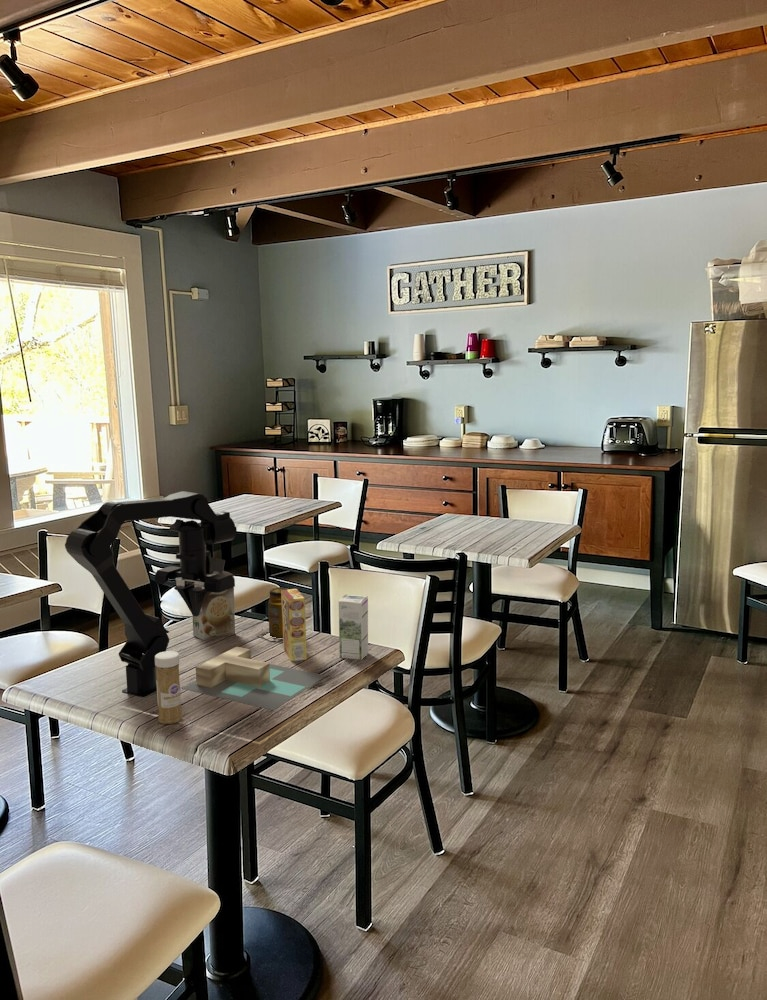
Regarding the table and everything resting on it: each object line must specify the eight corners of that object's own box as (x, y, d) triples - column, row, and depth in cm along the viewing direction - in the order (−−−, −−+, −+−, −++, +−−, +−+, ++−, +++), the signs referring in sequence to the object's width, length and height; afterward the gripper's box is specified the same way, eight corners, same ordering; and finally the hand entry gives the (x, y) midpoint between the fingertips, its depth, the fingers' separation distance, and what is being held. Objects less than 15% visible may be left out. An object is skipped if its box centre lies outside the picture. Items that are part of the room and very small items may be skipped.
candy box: (307, 660, 183) (306, 597, 180) (289, 663, 181) (288, 599, 179) (299, 648, 191) (297, 587, 188) (282, 650, 190) (280, 589, 187)
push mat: (273, 712, 155) (273, 710, 155) (181, 689, 166) (181, 688, 166) (326, 677, 173) (326, 675, 173) (240, 659, 184) (240, 657, 184)
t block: (244, 695, 162) (243, 677, 162) (196, 684, 168) (195, 666, 168) (283, 672, 174) (282, 655, 174) (237, 663, 180) (236, 646, 180)
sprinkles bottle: (170, 726, 149) (167, 660, 147) (153, 721, 151) (149, 656, 149) (187, 717, 153) (184, 652, 151) (170, 712, 155) (166, 648, 153)
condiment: (299, 635, 201) (298, 590, 199) (272, 643, 195) (271, 596, 193) (282, 628, 206) (281, 584, 204) (256, 636, 200) (254, 591, 198)
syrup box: (369, 653, 187) (368, 594, 185) (361, 661, 182) (361, 602, 179) (346, 650, 189) (345, 593, 187) (338, 659, 183) (337, 600, 181)
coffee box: (203, 641, 196) (200, 580, 193) (192, 635, 201) (189, 574, 198) (236, 634, 202) (233, 574, 199) (224, 627, 206) (222, 569, 204)
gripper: (249, 545, 175) (251, 611, 177) (185, 537, 184) (188, 601, 186) (216, 555, 165) (219, 626, 168) (151, 546, 174) (155, 614, 176)
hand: (196, 615), depth 175 cm, fingers closed
